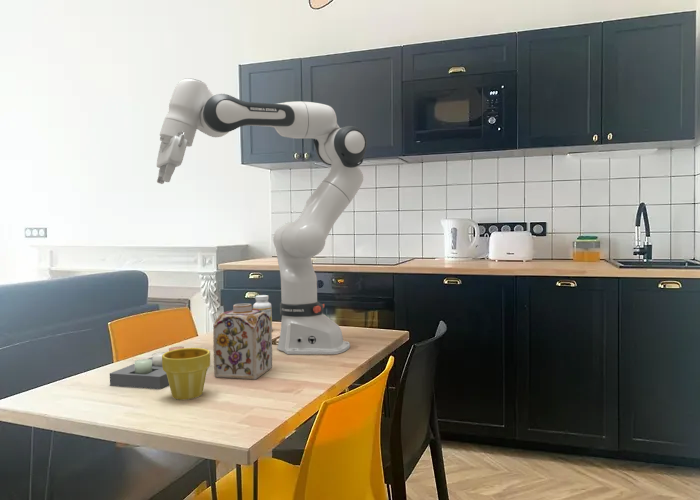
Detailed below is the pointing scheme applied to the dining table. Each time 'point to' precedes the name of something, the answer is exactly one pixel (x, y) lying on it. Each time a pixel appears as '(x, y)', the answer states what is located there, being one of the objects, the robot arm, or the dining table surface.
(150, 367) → the sage button
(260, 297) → the supplement bottle
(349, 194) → the robot arm
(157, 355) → the ivory button
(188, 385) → the plant pot
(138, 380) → the button console
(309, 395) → the dining table surface
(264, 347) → the decorative jar
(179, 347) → the terracotta button
